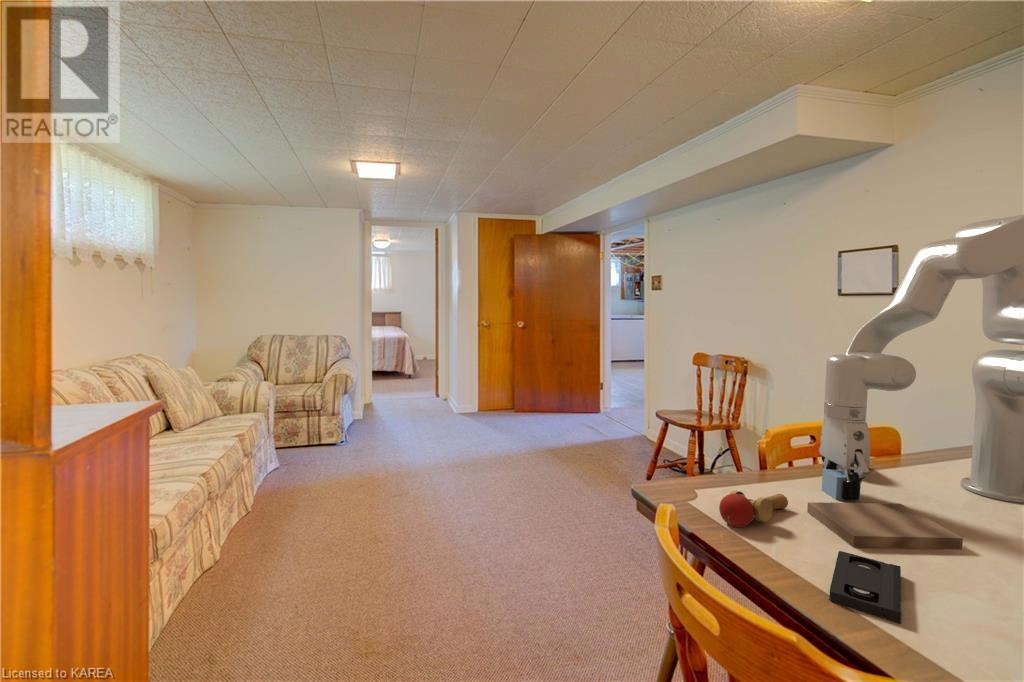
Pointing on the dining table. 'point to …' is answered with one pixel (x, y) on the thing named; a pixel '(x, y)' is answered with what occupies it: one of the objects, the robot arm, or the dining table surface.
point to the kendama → (749, 508)
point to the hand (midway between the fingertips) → (840, 492)
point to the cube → (834, 483)
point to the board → (883, 526)
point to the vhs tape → (867, 586)
